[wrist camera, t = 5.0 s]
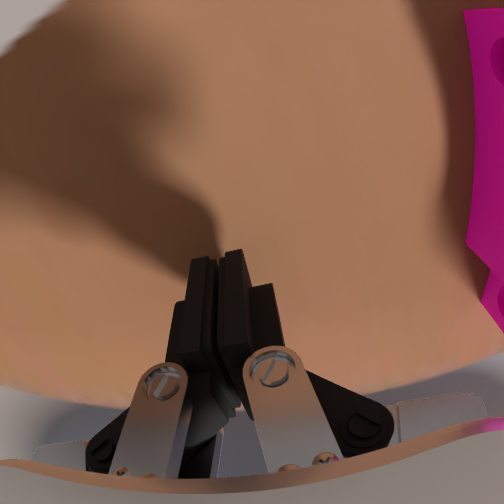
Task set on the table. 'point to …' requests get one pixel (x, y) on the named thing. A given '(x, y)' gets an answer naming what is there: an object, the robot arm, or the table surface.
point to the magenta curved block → (488, 152)
